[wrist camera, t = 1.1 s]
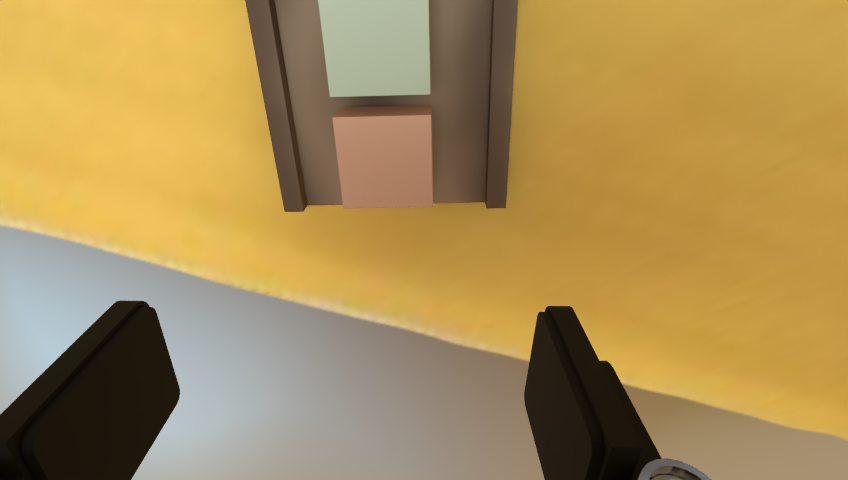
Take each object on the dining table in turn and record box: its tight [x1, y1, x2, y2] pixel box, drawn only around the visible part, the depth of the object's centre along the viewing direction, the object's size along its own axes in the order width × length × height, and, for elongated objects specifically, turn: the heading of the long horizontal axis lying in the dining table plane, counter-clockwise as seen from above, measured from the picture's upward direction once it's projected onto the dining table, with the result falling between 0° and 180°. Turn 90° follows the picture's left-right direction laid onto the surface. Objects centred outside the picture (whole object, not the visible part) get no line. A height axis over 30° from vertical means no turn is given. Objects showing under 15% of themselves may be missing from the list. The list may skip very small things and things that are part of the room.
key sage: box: [318, 0, 431, 97], centre depth 22 cm, size 5×5×2 cm
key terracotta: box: [332, 105, 433, 208], centre depth 25 cm, size 5×5×2 cm
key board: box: [245, 0, 518, 212], centre depth 25 cm, size 14×20×2 cm
